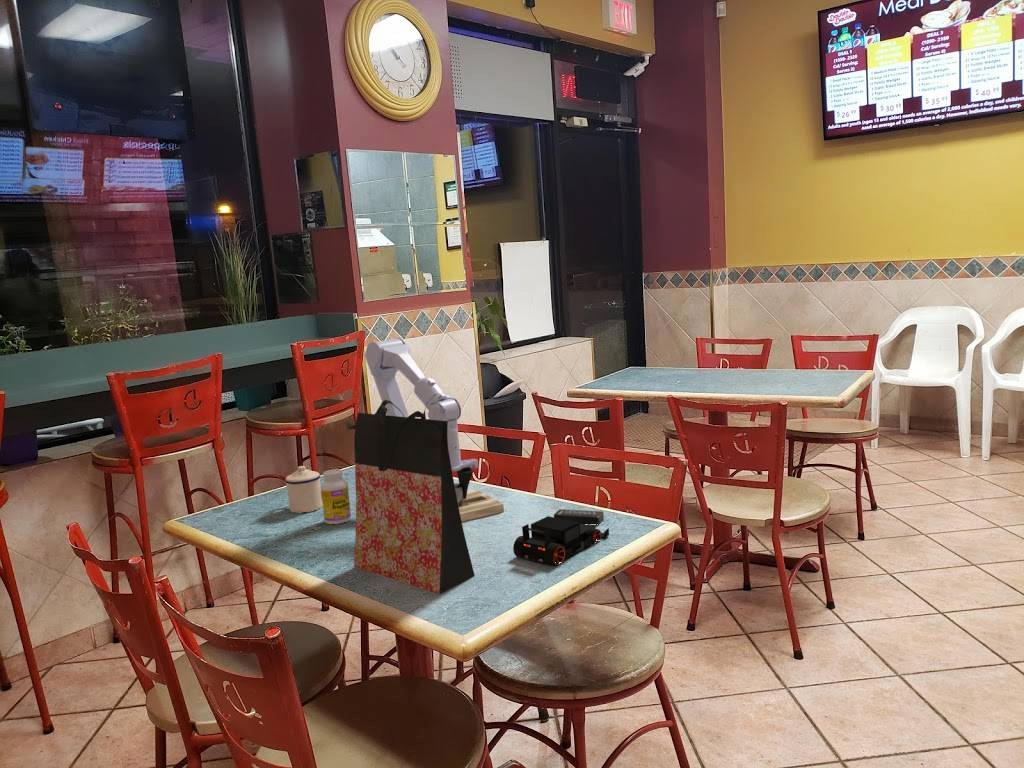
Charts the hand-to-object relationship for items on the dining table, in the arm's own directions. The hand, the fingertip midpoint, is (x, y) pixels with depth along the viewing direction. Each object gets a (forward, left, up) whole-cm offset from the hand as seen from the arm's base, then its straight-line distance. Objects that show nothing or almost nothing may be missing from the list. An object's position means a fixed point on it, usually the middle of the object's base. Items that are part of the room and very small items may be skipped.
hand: (453, 500), depth 191 cm
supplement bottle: (-14, -26, -3) cm, 30 cm away
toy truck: (+38, +9, -4) cm, 39 cm away
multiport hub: (+26, +21, -4) cm, 33 cm away
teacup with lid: (-32, -31, -3) cm, 45 cm away
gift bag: (+28, -22, -3) cm, 36 cm away
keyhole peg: (0, 0, -3) cm, 3 cm away
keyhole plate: (0, +2, -3) cm, 4 cm away
